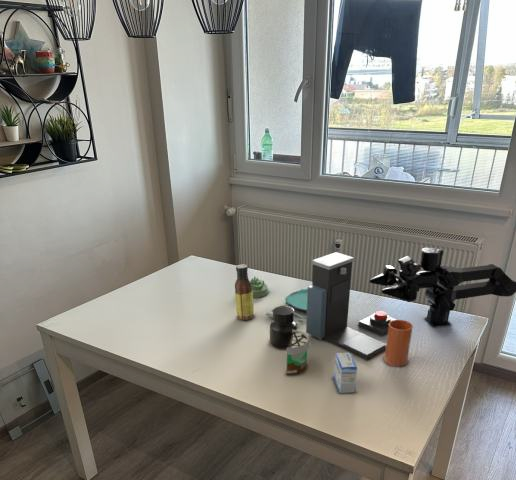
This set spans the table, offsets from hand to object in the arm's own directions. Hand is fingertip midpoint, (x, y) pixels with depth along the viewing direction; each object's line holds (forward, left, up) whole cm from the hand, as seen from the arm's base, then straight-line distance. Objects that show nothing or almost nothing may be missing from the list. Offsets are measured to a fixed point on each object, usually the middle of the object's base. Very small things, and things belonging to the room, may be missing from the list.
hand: (375, 286), depth 160 cm
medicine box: (+21, +29, -17) cm, 40 cm away
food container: (+31, +17, -17) cm, 39 cm away
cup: (0, +20, -17) cm, 26 cm away
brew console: (-4, -3, -17) cm, 17 cm away
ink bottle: (+32, +1, -17) cm, 36 cm away
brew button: (-4, -3, -13) cm, 14 cm away
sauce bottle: (+41, -21, -17) cm, 49 cm away
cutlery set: (+18, -23, -17) cm, 33 cm away
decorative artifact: (+33, -42, -17) cm, 55 cm away
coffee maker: (+11, +5, -17) cm, 21 cm away
